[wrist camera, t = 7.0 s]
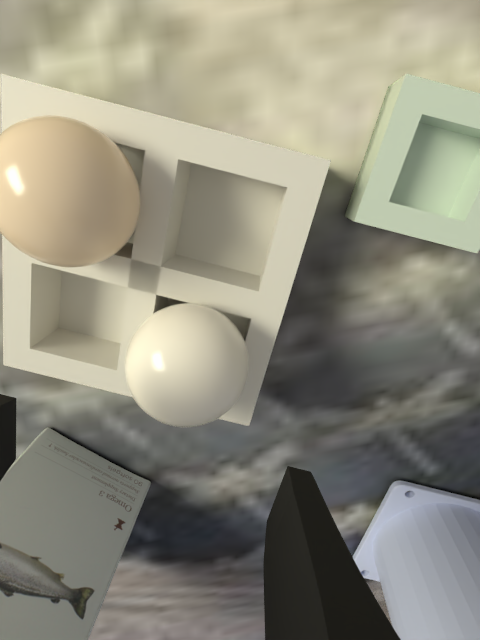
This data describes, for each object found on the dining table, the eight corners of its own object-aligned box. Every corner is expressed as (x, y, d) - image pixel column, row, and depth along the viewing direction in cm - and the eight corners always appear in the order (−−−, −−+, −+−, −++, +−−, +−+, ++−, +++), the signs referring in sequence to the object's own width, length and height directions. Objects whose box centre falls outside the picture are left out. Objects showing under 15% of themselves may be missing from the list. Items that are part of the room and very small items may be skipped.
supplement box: (156, 479, 23) (32, 805, 11) (106, 545, 25) (-37, 866, 13) (47, 420, 22) (-218, 711, 10) (7, 495, 24) (-241, 796, 12)
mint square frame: (511, 119, 14) (547, 111, 12) (453, 244, 16) (477, 253, 14) (388, 86, 14) (406, 73, 12) (344, 216, 16) (354, 221, 14)
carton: (320, 163, 15) (331, 160, 13) (252, 390, 20) (248, 426, 17) (50, 92, 15) (0, 73, 12) (41, 337, 20) (3, 365, 17)
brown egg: (166, 143, 14) (116, 128, 9) (148, 265, 16) (99, 300, 11) (41, 110, 14) (-69, 80, 9) (37, 236, 15) (-56, 261, 11)
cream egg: (265, 303, 16) (261, 358, 11) (237, 393, 18) (225, 469, 13) (156, 274, 16) (110, 318, 11) (141, 367, 18) (96, 435, 13)
